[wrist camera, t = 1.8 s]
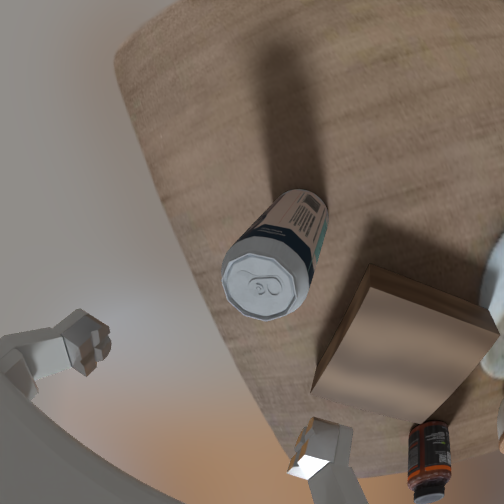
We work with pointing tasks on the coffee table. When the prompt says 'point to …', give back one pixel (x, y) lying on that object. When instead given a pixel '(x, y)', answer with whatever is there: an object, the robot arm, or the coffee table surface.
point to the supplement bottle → (429, 461)
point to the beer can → (276, 257)
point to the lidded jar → (501, 426)
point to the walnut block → (402, 347)
